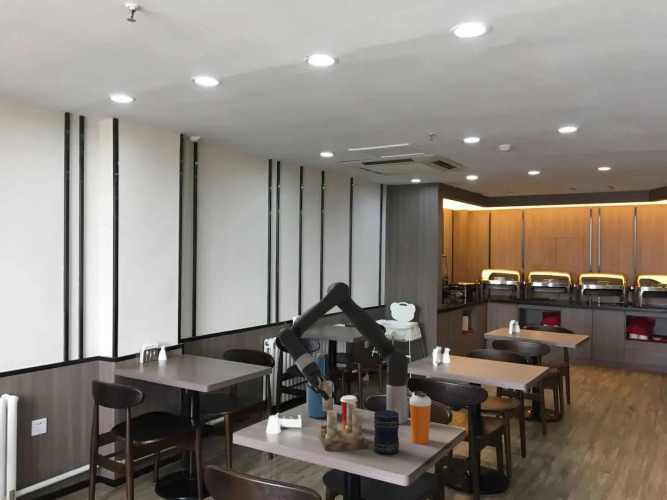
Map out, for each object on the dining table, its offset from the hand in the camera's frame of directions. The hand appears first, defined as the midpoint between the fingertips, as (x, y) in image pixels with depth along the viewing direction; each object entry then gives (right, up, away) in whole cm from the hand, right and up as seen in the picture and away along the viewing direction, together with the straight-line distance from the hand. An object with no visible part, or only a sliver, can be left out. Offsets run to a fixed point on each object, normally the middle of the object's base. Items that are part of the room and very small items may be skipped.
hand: (331, 398), depth 232 cm
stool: (+5, -17, -3) cm, 18 cm away
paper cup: (+8, -18, +15) cm, 24 cm away
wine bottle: (-6, -18, +36) cm, 41 cm away
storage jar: (+22, -17, -14) cm, 31 cm away
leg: (-2, -5, +1) cm, 6 cm away
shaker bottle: (+37, -18, -2) cm, 41 cm away
